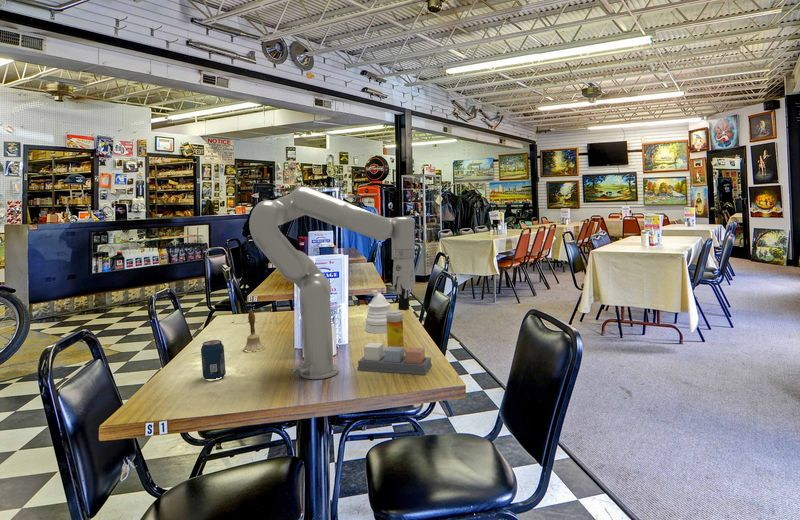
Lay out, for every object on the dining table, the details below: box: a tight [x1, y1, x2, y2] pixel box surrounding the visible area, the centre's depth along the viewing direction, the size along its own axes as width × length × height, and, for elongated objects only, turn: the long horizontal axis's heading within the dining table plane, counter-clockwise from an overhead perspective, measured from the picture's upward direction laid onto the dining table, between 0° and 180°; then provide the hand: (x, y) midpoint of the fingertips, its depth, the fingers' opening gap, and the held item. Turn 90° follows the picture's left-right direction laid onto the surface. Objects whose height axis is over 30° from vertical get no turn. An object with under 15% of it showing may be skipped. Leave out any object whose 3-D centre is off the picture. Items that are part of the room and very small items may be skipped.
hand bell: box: [243, 309, 265, 351], centre depth 183 cm, size 8×8×16 cm
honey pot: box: [365, 289, 392, 334], centre depth 208 cm, size 13×13×18 cm
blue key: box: [384, 346, 405, 363], centre depth 155 cm, size 5×5×4 cm
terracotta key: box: [404, 346, 426, 364], centre depth 153 cm, size 5×5×4 cm
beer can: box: [386, 309, 405, 348], centre depth 175 cm, size 6×6×15 cm
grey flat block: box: [357, 355, 433, 376], centre depth 155 cm, size 23×9×3 cm, turn 73°
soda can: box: [200, 339, 227, 380], centre depth 151 cm, size 7×7×12 cm
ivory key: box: [363, 342, 385, 361], centre depth 157 cm, size 5×5×4 cm
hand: (403, 309), depth 154 cm, fingers closed
